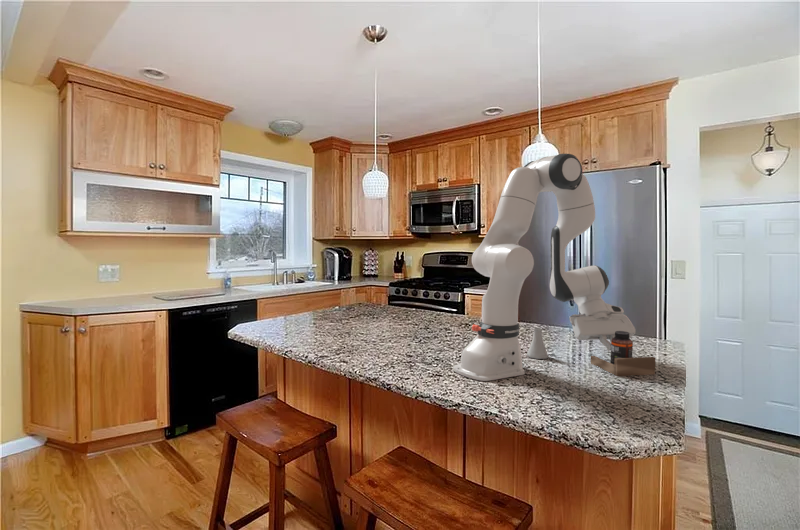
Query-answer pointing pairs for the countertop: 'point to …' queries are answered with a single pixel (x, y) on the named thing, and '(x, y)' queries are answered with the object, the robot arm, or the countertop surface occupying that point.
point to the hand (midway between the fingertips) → (613, 349)
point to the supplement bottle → (621, 346)
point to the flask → (537, 345)
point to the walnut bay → (627, 365)
